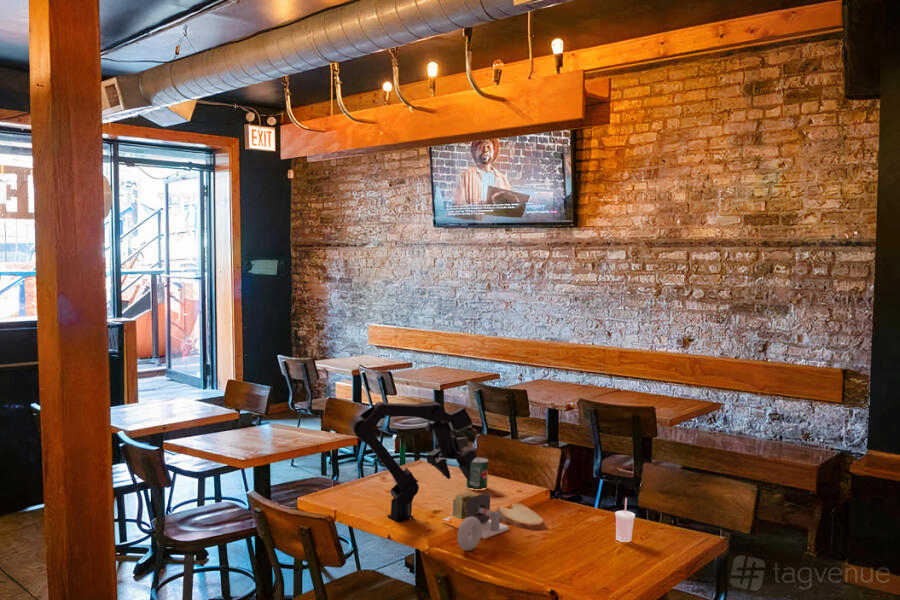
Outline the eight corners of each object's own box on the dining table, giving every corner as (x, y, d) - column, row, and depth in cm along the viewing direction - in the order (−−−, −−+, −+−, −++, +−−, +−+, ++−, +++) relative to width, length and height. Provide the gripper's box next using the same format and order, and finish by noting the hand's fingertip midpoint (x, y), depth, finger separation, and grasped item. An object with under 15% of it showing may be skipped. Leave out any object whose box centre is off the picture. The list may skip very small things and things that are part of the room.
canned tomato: (464, 485, 291) (465, 456, 291) (484, 484, 293) (485, 456, 292) (468, 491, 283) (470, 462, 283) (489, 491, 285) (490, 462, 284)
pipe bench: (484, 538, 236) (485, 517, 236) (442, 522, 248) (443, 502, 248) (508, 529, 245) (509, 509, 244) (466, 514, 257) (467, 495, 257)
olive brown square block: (461, 519, 246) (462, 497, 246) (454, 517, 248) (455, 495, 248) (475, 514, 251) (477, 493, 251) (469, 512, 253) (470, 491, 253)
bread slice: (545, 532, 245) (545, 521, 245) (490, 525, 249) (490, 514, 249) (549, 514, 263) (550, 504, 263) (498, 508, 267) (498, 498, 266)
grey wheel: (474, 543, 231) (476, 511, 231) (483, 547, 229) (485, 514, 229) (453, 552, 224) (455, 519, 223) (463, 556, 221) (464, 522, 221)
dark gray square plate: (472, 526, 242) (473, 500, 241) (466, 524, 244) (467, 498, 243) (489, 520, 248) (490, 495, 248) (483, 518, 250) (484, 493, 249)
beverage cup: (619, 545, 236) (622, 501, 235) (610, 538, 241) (612, 495, 241) (637, 544, 237) (639, 500, 236) (627, 537, 243) (630, 494, 242)
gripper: (479, 426, 253) (493, 468, 256) (439, 426, 266) (454, 466, 269) (458, 442, 245) (474, 485, 248) (419, 441, 258) (434, 482, 261)
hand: (459, 479), depth 257 cm, fingers open, 9 cm apart
